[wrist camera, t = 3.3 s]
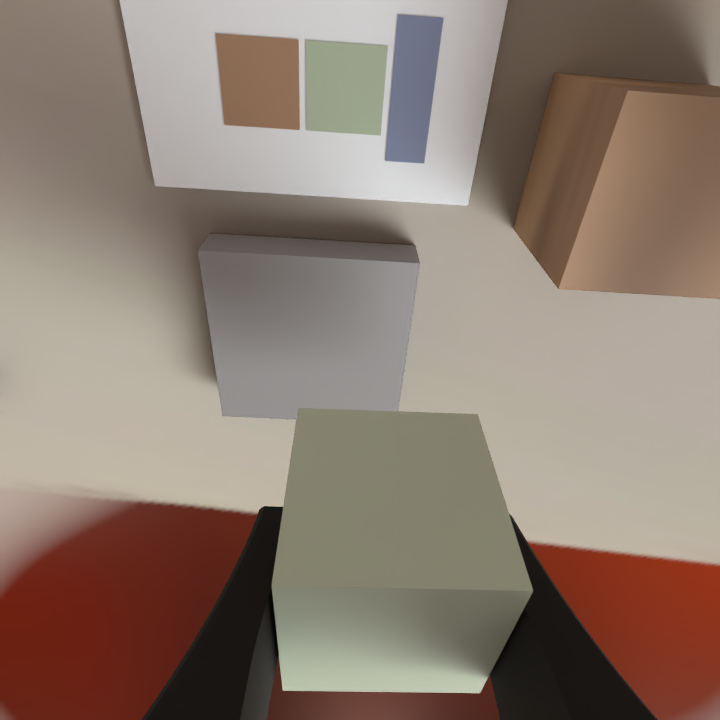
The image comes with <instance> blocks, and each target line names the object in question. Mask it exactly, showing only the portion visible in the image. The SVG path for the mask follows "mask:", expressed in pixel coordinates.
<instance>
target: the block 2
mask: <svg viewBox="0 0 720 720" xmlns="http://www.w3.org/2000/svg"><path fill="white" fill-rule="evenodd" d="M514 230H515V232H516V233H517V234H518V236H519V237H520V238H521V240H522V241H523V242H524V244H525V245H526V246H527V248H528V249H529V250H530V252H531V253H532V254H533V256H534V257H535V258H536V260H537V261H538V262H539V264H540V265H541V266H542V268H543V269H544V270H545V272H546V273H547V274H548V276H549V277H550V278H551V280H552V281H553V283H554V284H555V285H556V287H557V288H558V289H567V290H583V291H600V292H616V293H632V294H649V295H665V296H682V297H698V298H714V299H720V87H718V86H712V85H702V84H689V83H676V82H663V81H650V80H637V79H624V78H611V77H599V76H586V75H573V74H560V73H554V77H553V81H552V85H551V89H550V92H549V96H548V100H547V104H546V107H545V111H544V115H543V119H542V123H541V126H540V130H539V134H538V138H537V142H536V145H535V149H534V153H533V157H532V160H531V164H530V168H529V172H528V176H527V179H526V183H525V187H524V191H523V195H522V198H521V202H520V206H519V210H518V214H517V217H516V221H515V225H514Z"/></svg>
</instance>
